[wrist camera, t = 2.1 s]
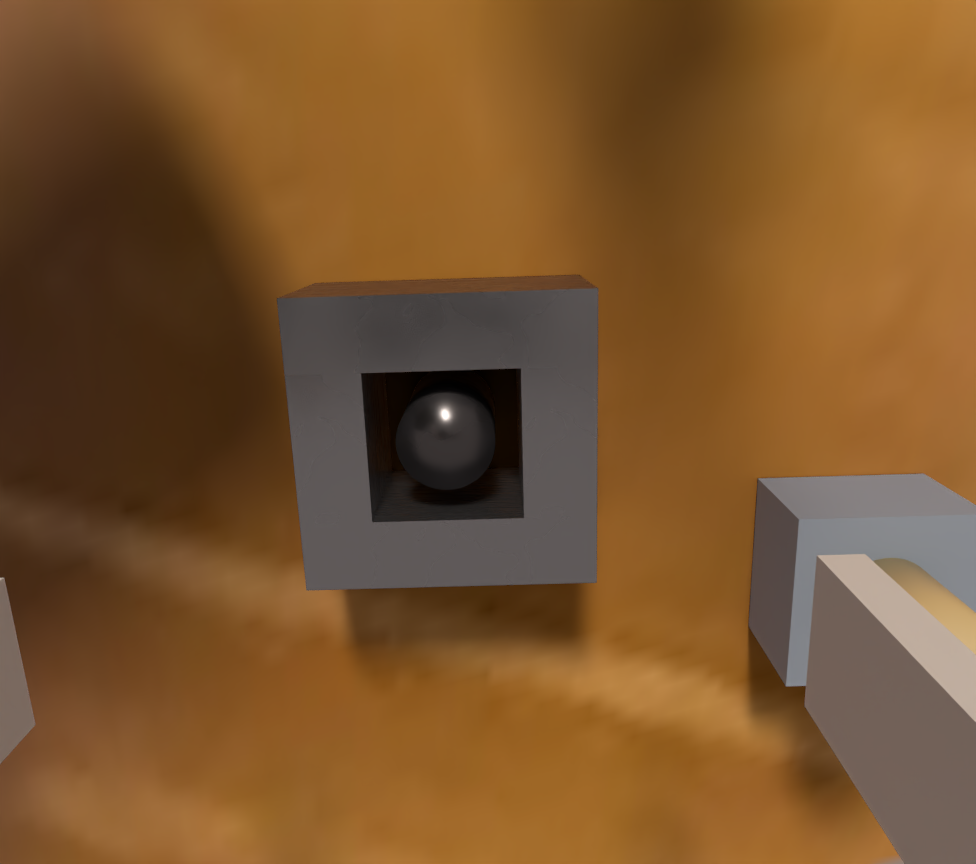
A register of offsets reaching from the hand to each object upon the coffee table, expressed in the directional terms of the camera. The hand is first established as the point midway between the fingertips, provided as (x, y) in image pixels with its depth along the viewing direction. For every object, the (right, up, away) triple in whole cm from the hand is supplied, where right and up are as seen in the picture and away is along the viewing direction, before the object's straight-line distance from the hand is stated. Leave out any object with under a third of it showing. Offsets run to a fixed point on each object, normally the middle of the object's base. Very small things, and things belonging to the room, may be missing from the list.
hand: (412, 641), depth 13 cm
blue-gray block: (+14, -1, +17) cm, 22 cm away
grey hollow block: (0, +4, +15) cm, 16 cm away
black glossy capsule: (0, +4, +15) cm, 16 cm away
